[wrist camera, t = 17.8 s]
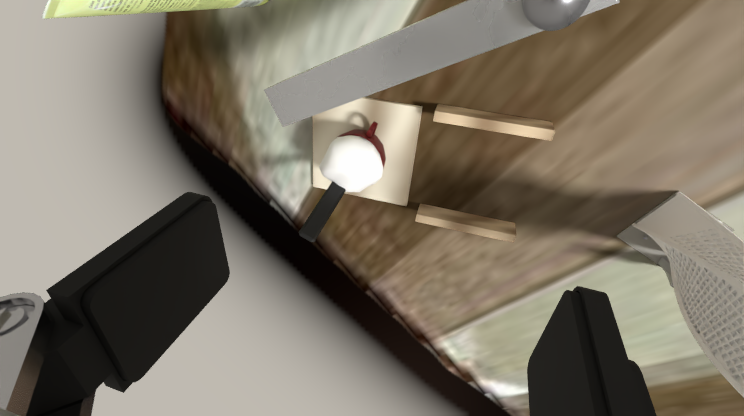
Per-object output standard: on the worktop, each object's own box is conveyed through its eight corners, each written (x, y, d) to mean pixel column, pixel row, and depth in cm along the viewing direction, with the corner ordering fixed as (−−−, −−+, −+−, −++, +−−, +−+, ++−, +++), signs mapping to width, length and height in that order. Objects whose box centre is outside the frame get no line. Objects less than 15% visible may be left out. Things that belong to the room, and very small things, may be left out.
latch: (556, -44, 29) (618, -67, 15) (561, -6, 30) (625, 5, 16) (344, 49, 37) (256, 91, 23) (354, 77, 38) (278, 132, 24)
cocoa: (374, 105, 39) (337, 139, 29) (410, 151, 40) (386, 199, 30) (315, 154, 43) (264, 198, 33) (349, 194, 45) (310, 248, 35)
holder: (551, 121, 35) (555, 130, 33) (512, 230, 42) (513, 242, 40) (438, 103, 37) (435, 111, 35) (418, 210, 44) (415, 221, 42)
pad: (422, 106, 38) (421, 107, 37) (407, 204, 44) (406, 206, 44) (314, 88, 40) (312, 90, 39) (314, 184, 46) (313, 186, 46)
